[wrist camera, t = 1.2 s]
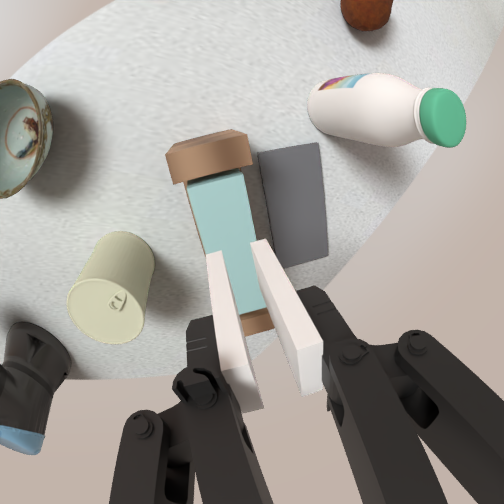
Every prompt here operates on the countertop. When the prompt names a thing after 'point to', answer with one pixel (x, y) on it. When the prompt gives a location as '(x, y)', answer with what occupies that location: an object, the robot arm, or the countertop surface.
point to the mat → (295, 203)
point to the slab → (228, 231)
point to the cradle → (209, 162)
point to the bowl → (22, 134)
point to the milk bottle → (386, 111)
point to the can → (113, 289)
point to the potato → (366, 13)
